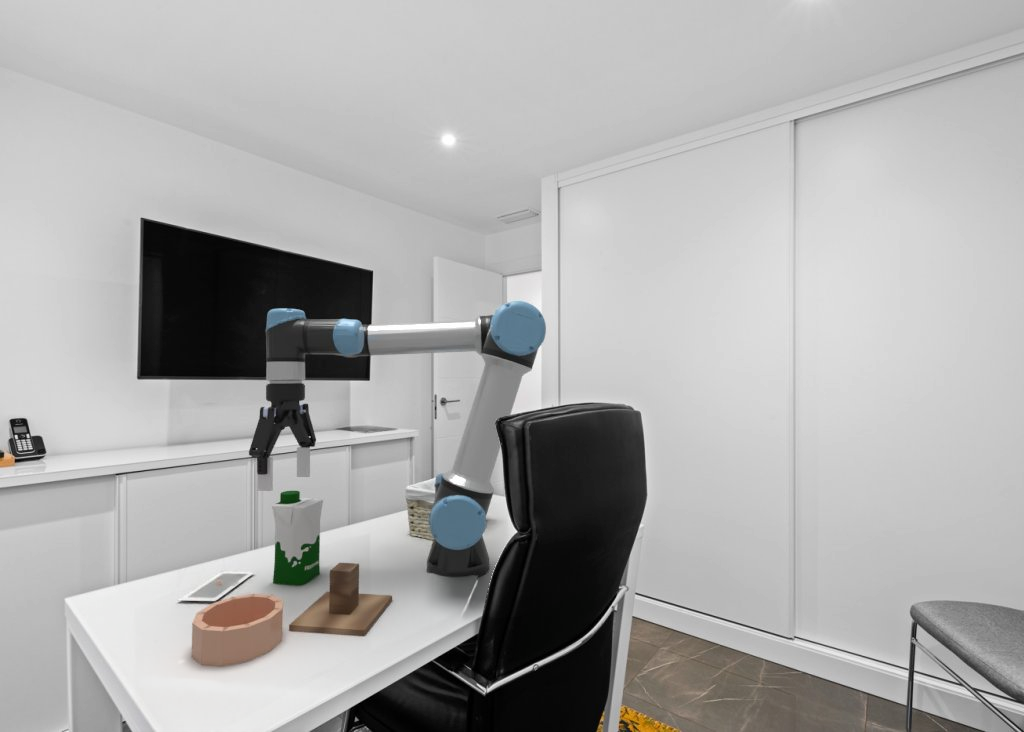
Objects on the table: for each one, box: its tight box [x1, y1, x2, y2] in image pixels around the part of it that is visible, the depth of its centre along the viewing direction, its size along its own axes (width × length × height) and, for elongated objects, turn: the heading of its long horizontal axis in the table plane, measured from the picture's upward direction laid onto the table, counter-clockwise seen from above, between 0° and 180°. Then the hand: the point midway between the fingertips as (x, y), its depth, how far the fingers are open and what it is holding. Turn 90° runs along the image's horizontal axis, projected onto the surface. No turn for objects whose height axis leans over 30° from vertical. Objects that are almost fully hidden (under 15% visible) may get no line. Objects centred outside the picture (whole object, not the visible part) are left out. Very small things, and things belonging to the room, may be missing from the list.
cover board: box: [288, 562, 393, 637], centre depth 95 cm, size 14×14×9 cm
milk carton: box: [271, 490, 324, 587], centre depth 112 cm, size 9×9×20 cm
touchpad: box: [178, 571, 256, 602], centre depth 109 cm, size 8×15×2 cm, turn 179°
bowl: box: [191, 593, 284, 667], centre depth 85 cm, size 13×13×6 cm
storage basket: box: [404, 477, 436, 541], centre depth 152 cm, size 24×16×15 cm
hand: (285, 483), depth 105 cm, fingers open, 13 cm apart
